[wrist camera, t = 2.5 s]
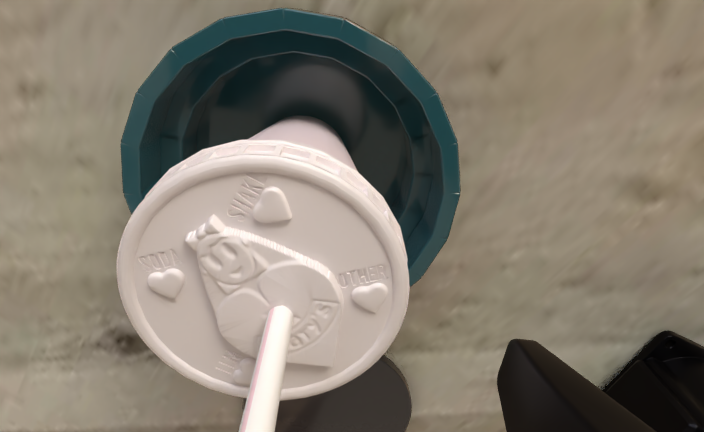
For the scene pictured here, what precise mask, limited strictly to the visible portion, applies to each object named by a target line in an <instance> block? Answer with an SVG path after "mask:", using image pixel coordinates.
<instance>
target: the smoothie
mask: <svg viewBox="0 0 704 432" xmlns="http://www.w3.org/2000/svg"><path fill="white" fill-rule="evenodd" d="M407 261H408V258H407V254H406V249H405V245H404V241H403V236H402V232H401V228H400V226H399V224H398V222H397V220H396V219H395V217H394V215H393V213H392V211H391V210H390V208H389V206H388V204H387V203H386V201H385V199H384V197H383V196H382V195H381V194H380V193H379V192H378V191H377V190H376V189H375V188H374V187H373V186H372V185H371V184H370V183H369V182H368V181H367V180H366V179H365V178H364V177H363V176H362V175H361V174H359V173H358V171H357V169H356V167H355V165H354V163H353V161H352V159H351V157H350V155H349V153H348V151H347V149H346V147H345V145H344V143H343V141H342V139H341V138H340V136H339V135H338V133H337V132H336V131H335V130H334V129H333V128H332V127H331V126H329V125H328V124H327V123H325V122H323V121H321V120H319V119H317V118H314V117H310V116H291V117H287V118H284V119H282V120H280V121H278V122H276V123H275V124H273V125H271V126H270V127H268V128H266V129H264V130H263V131H261V132H259V133H258V134H256V135H254V136H253V137H251V138H249V139H248V140H238V141H234V142H230V143H226V144H222V145H218V146H214V147H210V148H206V149H202V150H201V151H199V152H197V153H196V154H194V155H192V156H190V157H189V158H187V159H185V160H184V161H182V162H180V163H179V164H177V165H175V166H173V167H172V168H170V169H169V170H168V171H167V172H166V173H165V174H164V175H163V177H162V178H161V179H160V180H159V181H158V182H157V183H156V184H155V185H154V187H153V188H152V189H151V190H150V191H149V192H148V193H147V194H146V196H145V198H144V199H143V201H142V202H141V203H140V204H139V205H138V207H137V208H136V210H135V211H134V212H133V214H132V215H131V217H130V219H129V221H128V223H127V225H126V227H125V229H124V232H123V235H122V237H121V240H120V245H119V249H118V255H117V282H118V289H119V293H120V297H121V301H122V303H123V306H124V309H125V311H126V314H127V316H128V318H129V320H130V322H131V324H132V325H133V327H134V328H135V330H136V332H137V333H138V335H139V336H140V337H141V339H142V340H143V341H144V342H145V344H146V345H147V346H148V347H149V348H150V349H151V350H152V351H153V352H154V353H155V354H156V355H157V356H158V357H159V358H160V359H161V360H162V361H163V362H164V363H166V364H167V365H169V366H170V367H171V368H172V369H174V370H175V371H177V372H178V373H180V374H181V375H183V376H184V377H186V378H188V379H190V380H192V381H194V382H196V383H198V384H200V385H202V386H204V387H206V388H209V389H212V390H215V391H218V392H221V393H224V394H227V395H231V396H236V397H242V398H247V400H246V404H245V408H244V412H243V416H242V419H241V423H240V427H239V431H238V432H275V426H276V420H277V414H278V408H279V402H280V401H282V400H291V399H298V398H306V397H310V396H314V395H318V394H321V393H324V392H327V391H330V390H332V389H335V388H337V387H340V386H342V385H344V384H346V383H348V382H349V381H351V380H353V379H355V378H356V377H358V376H359V375H361V374H362V373H364V372H365V371H366V370H367V369H369V368H370V367H371V366H372V365H373V364H374V363H375V362H377V361H378V360H379V359H380V358H381V356H382V355H383V354H384V353H385V352H386V351H387V349H388V348H389V347H390V345H391V344H392V342H393V341H394V339H395V337H396V336H397V334H398V332H399V330H400V328H401V325H402V323H403V321H404V317H405V314H406V311H407V306H408V300H409V288H410V285H409V272H408V266H407Z"/></svg>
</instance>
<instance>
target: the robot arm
mask: <svg viewBox="0 0 704 432" xmlns="http://www.w3.org/2000/svg"><path fill="white" fill-rule="evenodd" d="M497 386H498V391H499V396H500V401H501V406H502V411H503V416H504V421H505V425H506V430H507V432H704V347H703V346H701V345H699V344H697V343H695V342H693V341H691V340H689V339H687V338H685V337H682V336H680V335H678V334H676V333H674V332H672V331H664V332H661V333H660V334H658V335H657V336H656V337H655V338H654V339H653V340H652V341H651V342H650V343H649V344H648V345H647V346H646V347H645V348H644V349H643V350H642V351H641V352H640V353H639V354H638V355H637V356H636V357H635V359H634V360H633V361H632V362H631V363H630V364H629V365H628V366H627V367H626V368H625V369H624V370H623V371H622V372H621V373H620V374H619V375H618V376H617V377H616V378H615V379H614V380H613V381H612V382H611V383H610V384H609V385H608V386H607V387H606V388H605V389H604V390H603V391H601V390H600V389H599V388H597V387H596V386H595V385H594V384H592V383H591V382H590V381H588V380H587V379H586V378H584V377H583V376H582V375H580V374H579V373H578V372H576V371H575V370H574V369H572V368H571V367H570V366H568V365H567V364H566V363H564V362H563V361H562V360H560V359H559V358H558V357H556V356H555V355H554V354H552V353H551V352H550V351H548V350H547V349H546V348H544V347H543V346H542V345H540V344H539V343H538V342H536V341H533V340H524V339H513V340H511V341H510V342H509V344H508V346H507V349H506V352H505V355H504V358H503V361H502V364H501V366H500V369H499V372H498V377H497Z"/></svg>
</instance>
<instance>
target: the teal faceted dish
mask: <svg viewBox="0 0 704 432" xmlns="http://www.w3.org/2000/svg"><path fill="white" fill-rule="evenodd" d="M291 116H310V117H314V118H317V119H319V120H321V121H323V122H325V123H327V124H328V125H329V126H331V127H332V128H333V129H334V130H335V131H336V132H337V133H338V135H339V136H340V138H341V139H342V141H343V143H344V145H345V147H346V149H347V151H348V153H349V155H350V157H351V159H352V161H353V163H354V165H355V167H356V169H357V171H358V173H359V174H361V175H362V176H363V177H364V178H365V179H366V180H367V181H368V182H369V183H370V184H371V185H372V186H373V187H374V188H375V189H376V190H377V191H378V192H379V193H380V194H381V195H382V196H383V197H384V199H385V201H386V203H387V204H388V206H389V208H390V210H391V211H392V213H393V215H394V217H395V219H396V220H397V222H398V224H399V226H400V228H401V232H402V236H403V241H404V245H405V249H406V254H407V258H408V261H407V266H408V272H409V285H410V287H411V286H412V285H413V284H414V283H416V282H417V281H418V280H419V279H421V276H423V275H424V273H425V272H426V270H427V269H428V267H429V266H430V264H431V263H432V261H433V260H434V259H435V257H436V256H437V254H438V253H439V251H440V250H441V248H442V247H443V245H444V244H445V242H446V241H447V238H448V236H449V233H450V229H451V225H452V222H453V218H454V215H455V211H456V208H457V204H458V201H459V197H460V191H461V189H460V171H459V154H458V144H457V139H456V136H455V134H454V132H453V129H452V127H451V124H450V122H449V119H448V117H447V115H446V112H445V110H444V107H443V105H442V103H441V100H440V98H439V95H438V93H437V92H436V90H435V89H434V88H433V87H432V86H431V85H430V83H429V82H428V81H427V80H426V79H425V78H424V77H423V76H422V74H421V73H420V72H419V71H418V70H417V69H416V68H415V67H414V65H413V64H412V63H411V62H410V61H409V60H408V59H407V58H406V56H405V55H404V54H403V53H402V52H401V51H400V50H399V49H397V47H395V46H394V45H392V44H391V43H389V42H388V41H386V40H385V39H383V38H381V37H379V36H377V35H376V34H374V33H372V32H370V31H369V30H367V29H365V28H363V27H361V26H360V25H358V24H356V23H354V22H353V21H351V20H349V19H347V18H344V17H341V16H336V15H330V14H325V13H319V12H313V11H308V10H302V9H294V8H277V9H271V10H265V11H259V12H253V13H248V14H242V15H236V16H230V17H224V18H223V19H219V20H218V21H216V22H214V23H213V24H211V25H209V26H207V27H206V28H204V29H202V30H201V31H199V32H197V33H195V34H194V35H192V36H190V37H189V38H187V39H185V40H183V41H182V42H180V43H178V44H177V45H175V46H173V47H172V49H170V50H169V51H168V53H167V54H166V55H165V56H164V58H163V59H162V60H161V61H160V63H159V64H158V65H157V66H156V68H155V69H154V70H153V71H152V73H151V74H150V75H149V76H148V78H147V79H146V80H145V81H144V83H143V84H142V85H141V86H140V88H139V89H138V92H136V94H135V98H134V101H133V104H132V107H131V110H130V114H129V117H128V120H127V123H126V126H125V130H124V133H123V136H122V139H121V162H122V182H123V193H124V197H125V199H126V202H127V204H128V207H129V210H130V212H131V215H132V214H133V212H134V211H135V210H136V208H137V207H138V205H139V204H140V203H141V202H142V201H143V199H144V198H145V196H146V194H147V193H148V192H149V191H150V190H151V189H152V188H153V187H154V185H155V184H156V183H157V182H158V181H159V180H160V179H161V178H162V177H163V175H164V174H165V173H166V172H167V171H168V170H169V169H170V168H172V167H173V166H175V165H177V164H179V163H180V162H182V161H184V160H185V159H187V158H189V157H190V156H192V155H194V154H196V153H197V152H199V151H201V150H202V149H206V148H210V147H214V146H218V145H222V144H226V143H230V142H234V141H238V140H248V139H249V138H251V137H253V136H254V135H256V134H258V133H259V132H261V131H263V130H264V129H266V128H268V127H270V126H271V125H273V124H275V123H276V122H278V121H280V120H282V119H284V118H287V117H291Z"/></svg>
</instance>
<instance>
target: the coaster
mask: <svg viewBox="0 0 704 432" xmlns="http://www.w3.org/2000/svg"><path fill="white" fill-rule="evenodd" d="M246 400H247V398H243V407H242V408H243V412H244V408H245V404H246ZM411 408H412V406H411V397H410V391H409V388H408V384H407V382H406V380H405V378H404V376H403V374H402V373H401V371H400V370H399V369H398V368H397V366H396V365H395V364H394V363H393V362H392V361H391V360H389V359H388V358H387V357H386V356H384V355H382V356H381V358H380V359H379V360H378V361H377V362H375V363H374V364H373V365H372V366H371V367H370V368H369V369H367V370H366V371H365V372H364V373H362V374H361V375H359V376H358V377H356V378H355V379H353V380H351V381H349V382H348V383H346V384H344V385H342V386H340V387H337V388H335V389H332V390H330V391H327V392H324V393H321V394H318V395H314V396H310V397H306V398H298V399H291V400H282V401H280V402H279V408H278V414H277V420H276V426H275V432H405V430H406V428H407V426H408V424H409V420H410V417H411Z"/></svg>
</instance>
